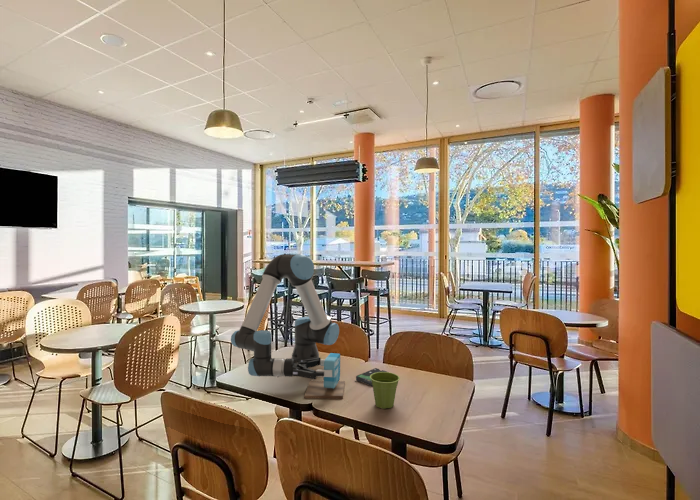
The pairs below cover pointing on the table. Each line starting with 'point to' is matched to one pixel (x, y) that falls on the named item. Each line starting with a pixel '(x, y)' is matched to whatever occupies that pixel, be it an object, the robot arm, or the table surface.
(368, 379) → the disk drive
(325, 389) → the board
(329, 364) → the light blue box
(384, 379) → the plant pot
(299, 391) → the table surface
